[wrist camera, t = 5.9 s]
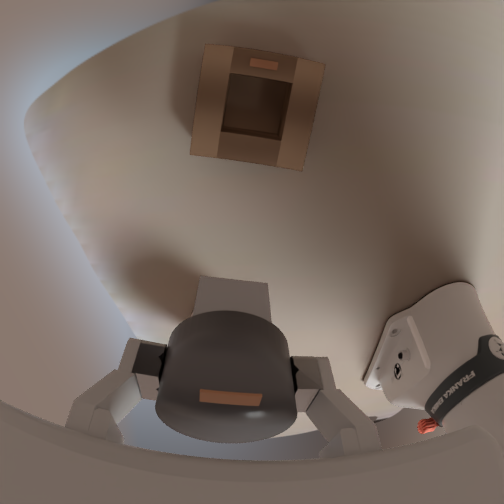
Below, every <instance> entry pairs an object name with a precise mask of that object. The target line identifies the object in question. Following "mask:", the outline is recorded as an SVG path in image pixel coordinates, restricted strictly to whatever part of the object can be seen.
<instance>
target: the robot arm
mask: <svg viewBox="0 0 504 504" xmlns="http://www.w3.org/2000/svg"><path fill="white" fill-rule="evenodd" d="M166 352H167V345H166V344H161V343H155V342H150V341H145V340H139V339H134V338H130V339H129V340H128V342H127V344H126V347H125V350H124V353H123V356H122V359H121V362H120V365H119V368H118V370H115V369H114V370H113V371H112V372H110V373H109V374H108V375H106V376H105V377H104V378H103V379H101V380H100V381H98V382H97V383H96V384H95V385H93V386H92V387H91V388H89V389H88V390H87V391H85V392H84V393H83V394H81V395H80V396H79V397H77V398H76V399H75V400H74V402H73V404H72V407H71V410H70V413H69V416H68V419H67V422H66V425H65V427H63V426H60V425H57V424H55V423H52V422H49V421H47V420H44V419H42V418H39V417H37V416H34V415H32V414H30V413H27V412H25V411H23V410H21V409H18V408H16V407H14V406H12V405H10V404H8V403H6V402H4V401H2V400H0V504H504V343H503V342H502V341H501V340H500V338H499V337H498V336H497V335H496V334H495V333H494V331H493V329H492V327H491V325H490V323H489V321H488V319H487V317H486V315H485V312H484V310H483V308H482V305H481V303H480V300H479V298H478V295H477V292H476V289H475V288H474V287H473V286H472V285H470V284H468V283H464V282H457V283H451V284H448V285H445V286H443V287H440V288H438V289H436V290H435V291H433V292H431V293H430V294H428V295H427V296H425V297H424V298H423V299H421V300H420V301H419V302H417V303H416V304H415V305H414V306H412V307H411V308H409V309H406V310H404V311H402V312H399V313H397V314H395V315H393V316H392V317H390V318H389V319H388V321H387V323H386V326H385V328H384V331H383V334H382V336H381V339H380V342H379V344H378V347H377V349H376V352H375V354H374V357H373V359H372V362H371V364H370V367H369V369H368V371H367V374H366V376H365V378H364V384H365V386H367V387H369V388H371V389H376V390H383V392H384V394H385V396H386V398H387V400H388V401H389V402H390V403H391V404H393V405H395V406H398V407H407V408H415V409H424V410H425V411H426V412H427V413H428V414H429V415H430V416H431V418H429V419H422V420H420V421H419V422H418V424H419V425H418V427H417V428H419V429H418V431H419V430H420V431H419V433H421V432H422V433H421V434H424V433H426V432H432V431H433V430H434V429H435V427H436V426H440V427H443V428H444V431H445V435H441V436H438V437H434V438H431V439H428V440H424V441H420V442H416V443H412V444H408V445H404V446H399V447H394V448H390V449H385V450H382V447H381V444H380V440H379V436H378V432H377V428H376V425H375V423H374V422H373V421H371V419H369V418H368V417H367V416H366V415H365V414H364V413H363V412H362V411H361V410H360V409H359V408H358V407H357V406H356V405H355V404H354V403H353V402H352V401H351V400H350V399H349V398H348V397H347V396H346V395H345V394H344V393H343V392H342V391H341V390H340V389H336V386H335V382H334V378H333V374H332V370H331V366H330V362H329V359H328V357H313V356H291V357H290V363H291V370H292V377H293V385H294V392H295V400H296V407H297V412H306V414H307V416H308V417H309V418H310V420H311V421H312V422H313V423H314V425H315V426H316V427H317V429H318V430H319V431H320V433H321V434H322V435H323V436H324V437H325V439H326V440H327V442H328V444H327V445H326V447H325V448H323V449H322V450H321V451H320V452H319V457H320V458H319V459H306V460H283V461H282V460H281V461H252V460H229V459H214V458H203V457H194V456H186V455H179V454H172V453H166V452H159V451H154V450H149V449H143V448H139V447H134V446H129V445H125V444H123V443H124V437H123V435H122V434H121V432H120V430H119V428H118V426H117V424H118V423H119V422H120V421H121V420H122V419H123V418H124V417H125V416H126V415H127V414H128V413H129V412H130V411H131V410H132V409H133V408H134V407H135V406H136V405H137V404H138V403H139V402H140V401H141V398H143V399H149V400H157V395H158V390H159V385H160V380H161V375H162V371H163V366H164V361H165V357H166Z"/></svg>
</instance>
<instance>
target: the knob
mask: <svg viewBox="0 0 504 504" xmlns="http://www.w3.org/2000/svg"><path fill="white" fill-rule="evenodd" d="M155 409H156V413H157V415H158V417H159V418H160V419H161V420H162V421H163V423H165V424H166V425H167V426H169V427H170V428H172V429H173V430H175V431H177V432H179V433H181V434H184V435H186V436H189V437H192V438H195V439H199V440H204V441H210V442H217V443H246V442H254V441H259V440H264V439H267V438H270V437H273V436H276V435H278V434H280V433H282V432H284V431H285V430H287V429H288V428H289V427H290V426H291V425H292V424H293V423H294V422H295V420H296V418H297V407H296V400H295V392H294V385H293V377H292V370H291V363H290V356H289V349H288V343H287V340H286V338H285V336H284V334H283V333H282V332H281V331H280V330H279V329H278V328H277V327H276V326H275V325H274V324H272V321H271V312H270V302H269V292H268V283H261V282H252V281H243V280H234V279H225V278H216V277H207V276H200V280H199V285H198V290H197V295H196V301H195V306H194V311H193V316H192V317H190V318H188V319H186V320H184V321H183V322H182V323H180V324H179V325H178V326H177V327H176V328H175V329H174V331H173V332H172V334H171V336H170V339H169V343H168V348H167V352H166V357H165V361H164V366H163V371H162V375H161V380H160V385H159V390H158V395H157V400H156V405H155Z"/></svg>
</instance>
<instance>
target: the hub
mask: <svg viewBox="0 0 504 504" xmlns="http://www.w3.org/2000/svg"><path fill="white" fill-rule="evenodd" d="M324 69H325V64H323V63H319V62H315V61H311V60H307V59H303V58H298V57H294V56H289V55H284V54H279V53H273V52H268V51H262V50H255V49H249V48H241V47H233V46H224V45H214V44H205V49H204V54H203V60H202V66H201V73H200V79H199V86H198V92H197V99H196V107H195V114H194V122H193V130H192V139H191V148H190V155H196V156H205V157H213V158H221V159H229V160H236V161H243V162H250V163H256V164H263V165H269V166H275V167H281V168H286V169H292V170H298V171H302V170H303V166H304V162H305V157H306V153H307V149H308V144H309V140H310V135H311V131H312V126H313V122H314V117H315V112H316V108H317V103H318V98H319V94H320V89H321V84H322V79H323V74H324Z"/></svg>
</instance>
